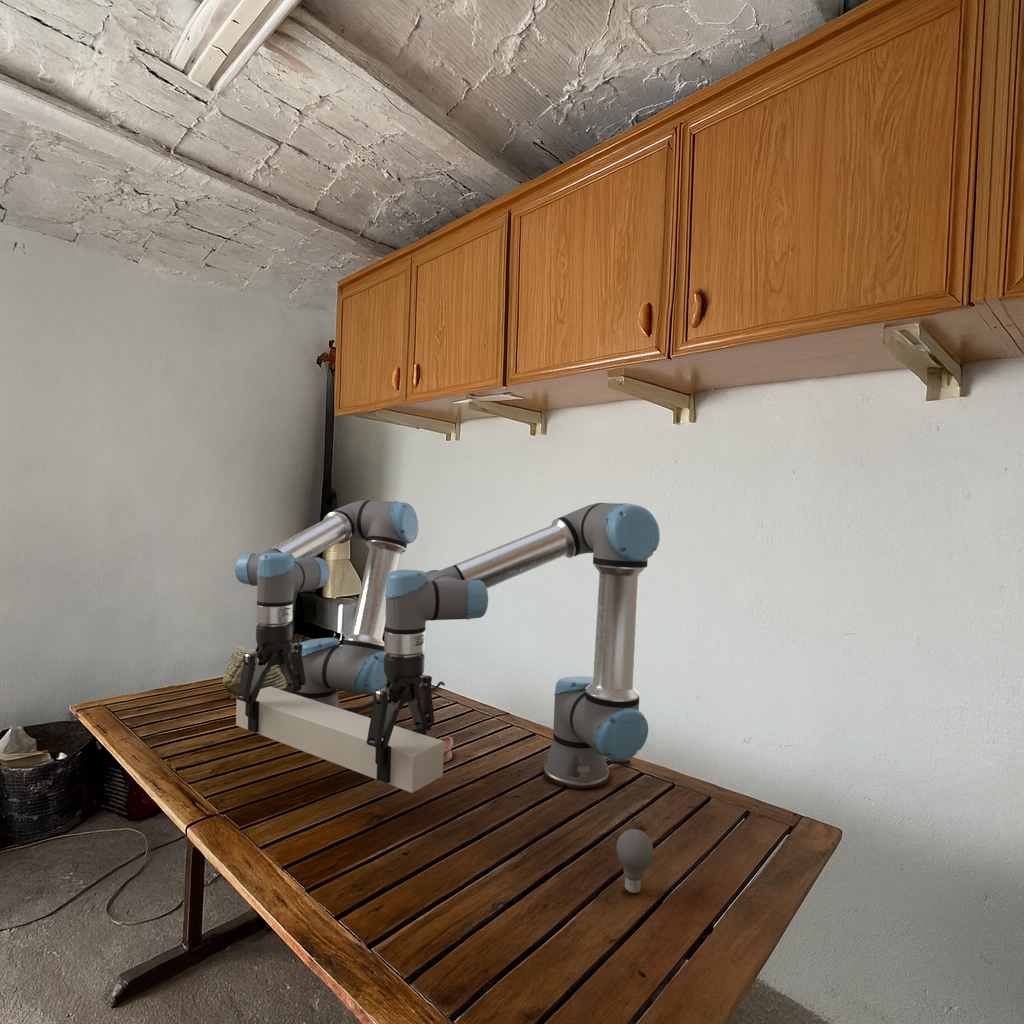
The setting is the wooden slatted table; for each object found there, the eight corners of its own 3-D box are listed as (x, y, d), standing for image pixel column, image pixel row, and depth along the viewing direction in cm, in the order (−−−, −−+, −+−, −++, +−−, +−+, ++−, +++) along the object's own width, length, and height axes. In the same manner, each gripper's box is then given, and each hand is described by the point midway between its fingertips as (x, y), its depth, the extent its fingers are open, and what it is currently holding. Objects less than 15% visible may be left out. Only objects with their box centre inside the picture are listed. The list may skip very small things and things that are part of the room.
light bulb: (610, 879, 108) (613, 822, 108) (644, 879, 109) (647, 822, 109) (619, 902, 102) (622, 840, 102) (655, 901, 103) (658, 840, 103)
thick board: (235, 725, 140) (236, 695, 140) (269, 714, 148) (270, 686, 147) (412, 793, 112) (413, 756, 112) (442, 776, 120) (444, 741, 119)
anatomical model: (390, 746, 152) (408, 729, 163) (390, 762, 152) (407, 745, 163) (443, 753, 149) (457, 735, 160) (443, 770, 149) (457, 751, 160)
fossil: (218, 695, 195) (220, 647, 195) (278, 685, 208) (279, 640, 207) (228, 703, 189) (230, 653, 188) (289, 692, 201) (290, 645, 201)
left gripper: (240, 633, 129) (238, 743, 129) (324, 618, 147) (321, 714, 147) (219, 628, 133) (216, 734, 133) (303, 614, 151) (300, 707, 151)
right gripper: (378, 668, 108) (374, 799, 109) (455, 645, 126) (452, 757, 127) (347, 661, 112) (343, 787, 113) (426, 639, 130) (423, 748, 131)
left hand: (271, 724), depth 140 cm, fingers closed on thick board, 9 cm apart
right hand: (401, 771), depth 120 cm, fingers closed on thick board, 9 cm apart
